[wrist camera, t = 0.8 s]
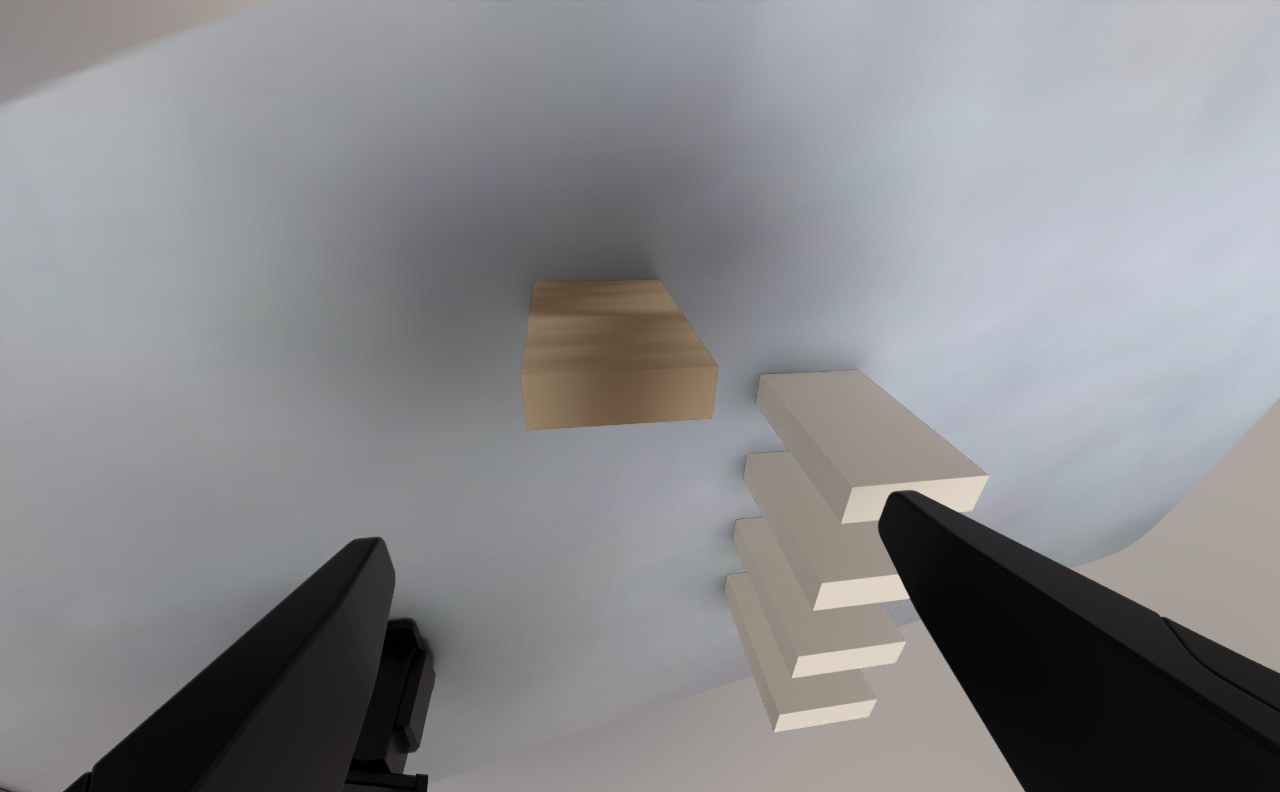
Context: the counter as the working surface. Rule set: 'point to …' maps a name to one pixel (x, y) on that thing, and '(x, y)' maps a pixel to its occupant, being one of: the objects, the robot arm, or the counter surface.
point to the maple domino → (612, 357)
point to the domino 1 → (863, 444)
